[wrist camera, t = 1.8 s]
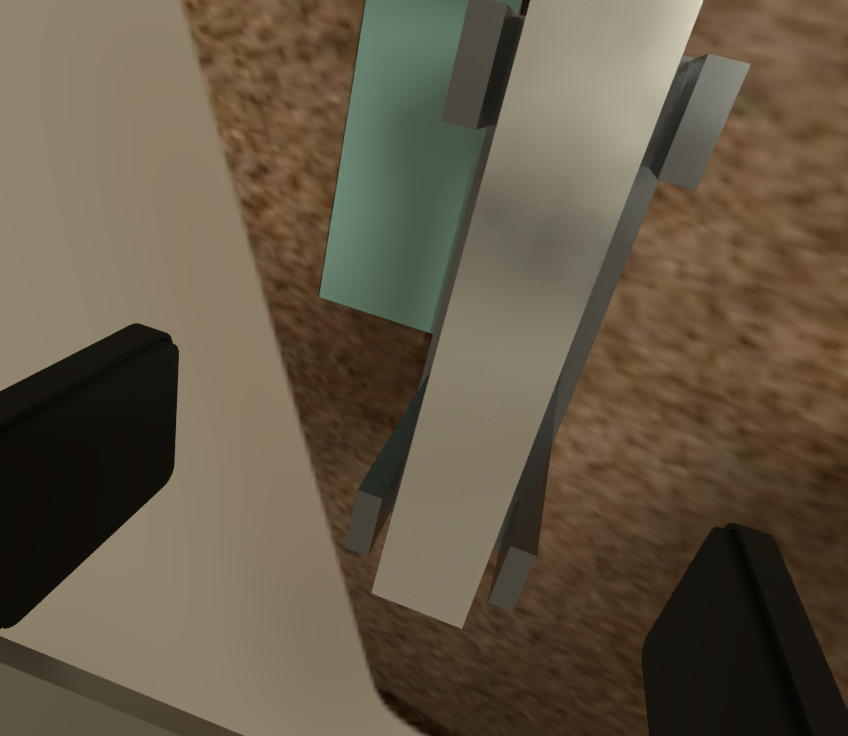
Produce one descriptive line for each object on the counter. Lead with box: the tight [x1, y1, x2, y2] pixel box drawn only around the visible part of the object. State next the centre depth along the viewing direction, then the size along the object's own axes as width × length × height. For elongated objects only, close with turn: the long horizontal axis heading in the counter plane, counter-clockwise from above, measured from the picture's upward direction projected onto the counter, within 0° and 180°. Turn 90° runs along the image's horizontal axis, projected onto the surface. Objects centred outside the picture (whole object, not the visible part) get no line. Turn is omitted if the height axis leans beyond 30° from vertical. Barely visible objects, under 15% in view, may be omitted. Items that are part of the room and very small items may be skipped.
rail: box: [372, 0, 703, 629], centre depth 16 cm, size 3×17×3 cm, turn 166°
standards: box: [345, 0, 750, 612], centre depth 21 cm, size 7×17×12 cm, turn 167°
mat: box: [319, 0, 523, 334], centre depth 25 cm, size 6×18×1 cm, turn 167°
